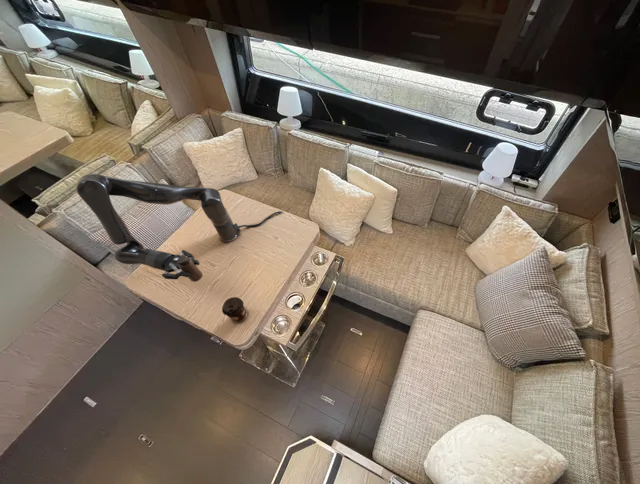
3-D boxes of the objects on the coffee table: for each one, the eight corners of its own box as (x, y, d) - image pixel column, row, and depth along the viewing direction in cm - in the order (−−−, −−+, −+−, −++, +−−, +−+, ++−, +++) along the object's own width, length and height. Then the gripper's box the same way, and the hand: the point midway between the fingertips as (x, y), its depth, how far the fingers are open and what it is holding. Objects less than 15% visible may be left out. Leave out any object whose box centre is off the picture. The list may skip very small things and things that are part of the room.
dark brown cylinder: (238, 328, 124) (230, 318, 114) (226, 318, 127) (216, 307, 117) (253, 312, 129) (245, 301, 119) (240, 303, 132) (232, 291, 122)
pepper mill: (197, 269, 126) (183, 252, 115) (205, 274, 124) (191, 257, 113) (187, 278, 123) (171, 261, 112) (195, 283, 121) (180, 266, 110)
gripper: (143, 269, 113) (178, 279, 110) (167, 242, 122) (201, 250, 119) (153, 278, 118) (187, 288, 115) (176, 252, 128) (207, 260, 125)
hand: (194, 269), depth 117 cm, fingers closed on pepper mill, 5 cm apart
